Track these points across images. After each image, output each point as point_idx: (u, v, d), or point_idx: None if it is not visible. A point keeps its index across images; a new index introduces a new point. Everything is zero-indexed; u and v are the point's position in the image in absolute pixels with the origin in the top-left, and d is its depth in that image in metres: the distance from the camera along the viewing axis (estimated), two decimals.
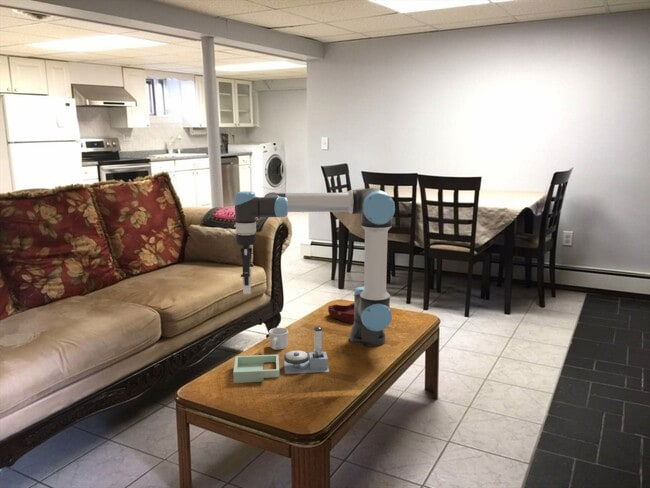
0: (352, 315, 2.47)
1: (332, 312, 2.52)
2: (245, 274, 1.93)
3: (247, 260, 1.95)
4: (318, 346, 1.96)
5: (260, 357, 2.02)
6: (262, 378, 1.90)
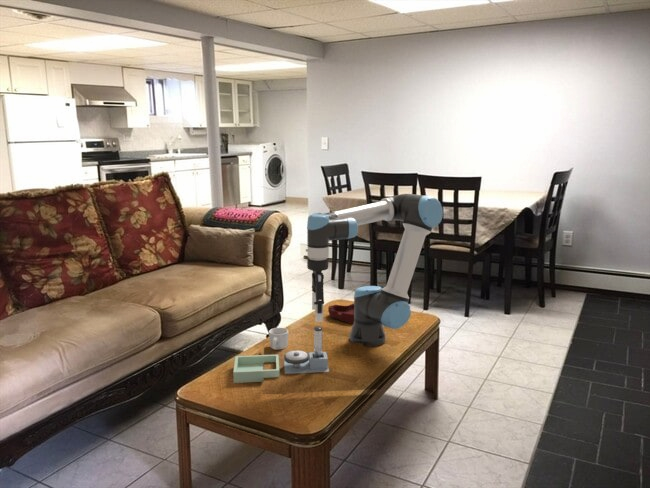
0: (352, 315, 2.46)
1: (332, 312, 2.52)
2: (319, 302, 1.84)
3: (321, 287, 1.85)
4: (318, 346, 1.96)
5: (260, 357, 2.02)
6: (262, 378, 1.90)
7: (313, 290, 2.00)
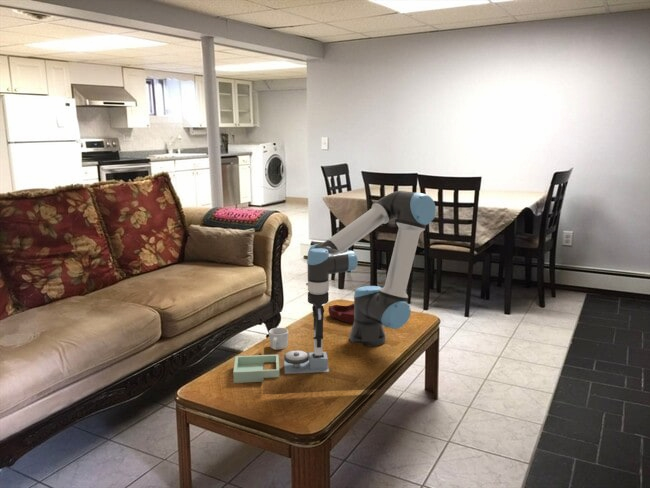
0: (352, 315, 2.46)
1: (332, 312, 2.51)
2: (319, 338, 1.92)
3: (321, 325, 1.90)
4: None
5: (260, 357, 2.02)
6: (262, 378, 1.90)
7: None
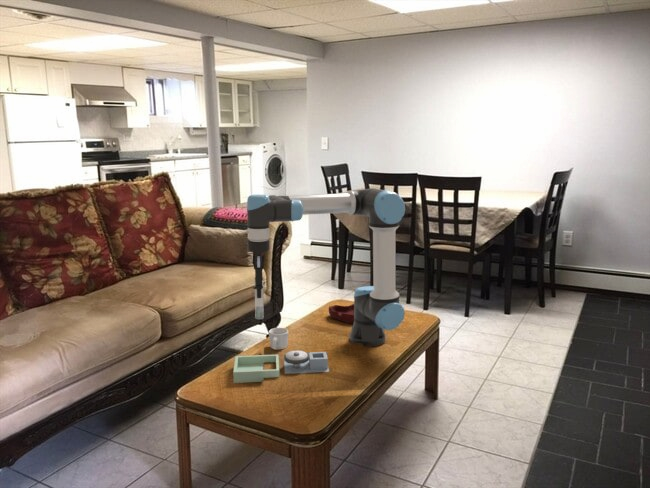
0: (353, 316, 2.46)
1: (332, 313, 2.51)
2: (258, 287, 1.85)
3: (260, 273, 1.83)
4: None
5: (260, 357, 2.02)
6: (262, 378, 1.90)
7: None
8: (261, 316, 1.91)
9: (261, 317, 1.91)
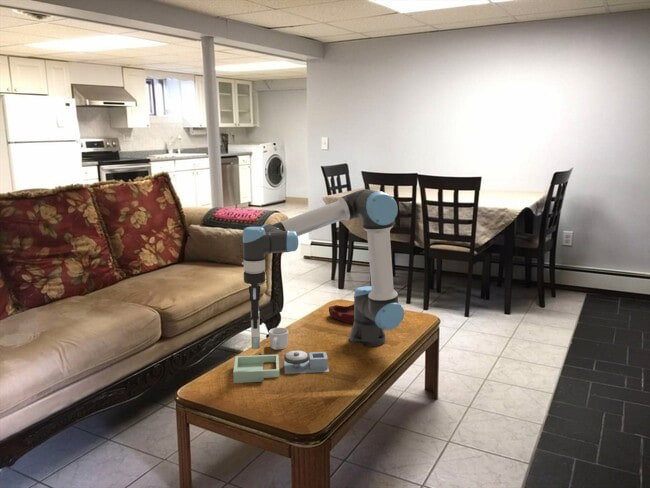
0: (353, 316, 2.46)
1: (333, 313, 2.51)
2: (254, 318, 1.87)
3: (256, 305, 1.85)
4: None
5: (260, 357, 2.02)
6: (262, 378, 1.90)
7: None
8: (257, 346, 1.93)
9: (257, 347, 1.93)
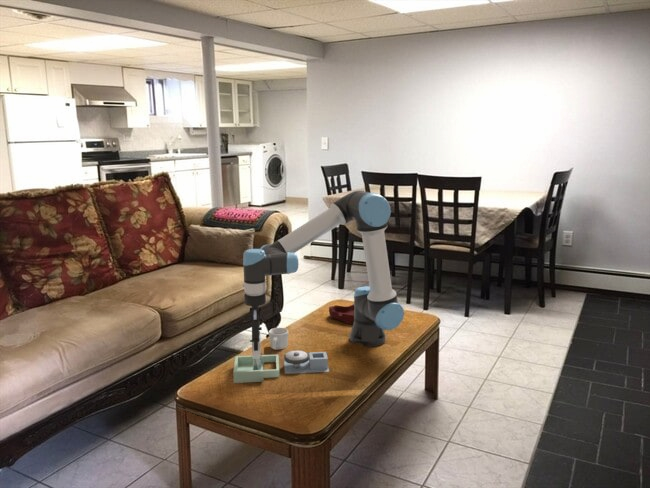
0: (353, 316, 2.45)
1: (333, 313, 2.51)
2: (255, 340, 1.85)
3: (256, 325, 1.85)
4: None
5: None
6: (262, 378, 1.90)
7: None
8: (258, 369, 1.95)
9: None
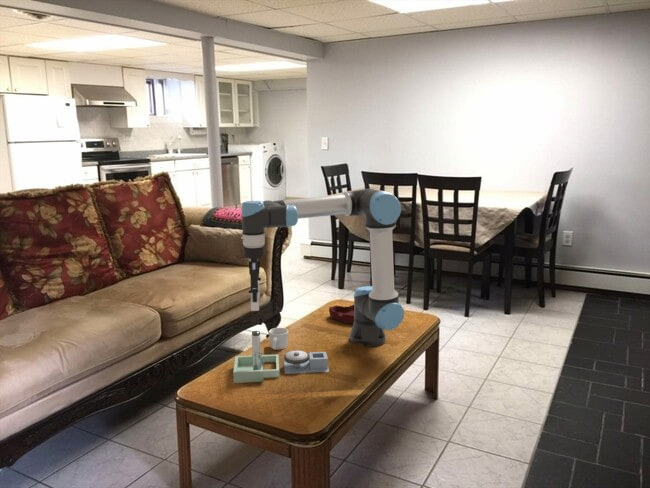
0: (353, 316, 2.45)
1: (333, 313, 2.50)
2: (253, 290, 1.80)
3: (255, 275, 1.81)
4: (255, 351, 1.93)
5: None
6: (262, 378, 1.90)
7: None
8: (258, 369, 1.95)
9: None
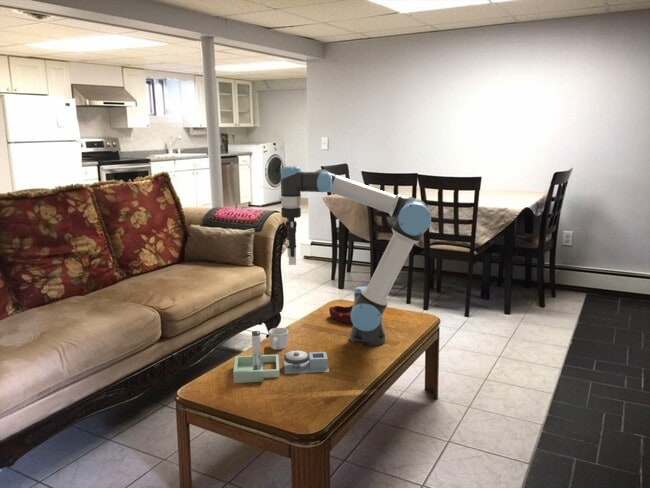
0: None
1: (333, 313, 2.50)
2: (292, 245, 2.01)
3: (293, 232, 2.02)
4: (256, 351, 1.93)
5: None
6: (262, 378, 1.90)
7: (288, 239, 2.17)
8: (258, 369, 1.95)
9: None
